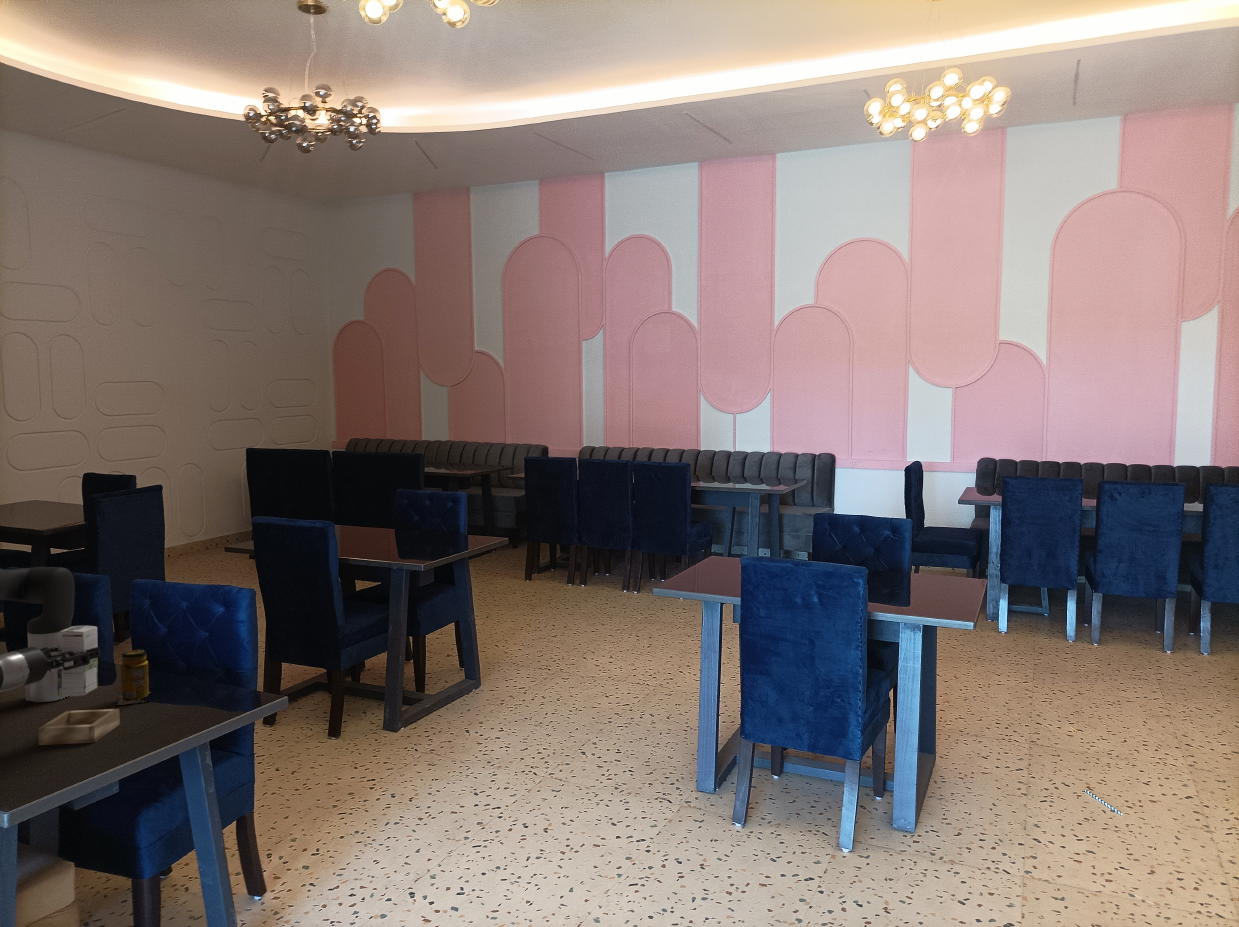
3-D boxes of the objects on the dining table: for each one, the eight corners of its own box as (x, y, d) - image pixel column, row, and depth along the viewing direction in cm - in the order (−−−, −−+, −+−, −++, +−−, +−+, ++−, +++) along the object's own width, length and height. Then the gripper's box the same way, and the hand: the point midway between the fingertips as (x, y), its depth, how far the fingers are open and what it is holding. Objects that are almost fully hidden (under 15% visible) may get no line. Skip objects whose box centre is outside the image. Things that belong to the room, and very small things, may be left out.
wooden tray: (38, 745, 183) (38, 728, 182) (67, 726, 194) (66, 711, 194) (94, 742, 184) (94, 726, 184) (119, 724, 195) (119, 708, 195)
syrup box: (71, 689, 191) (70, 625, 190) (99, 688, 191) (97, 625, 191) (57, 697, 185) (55, 631, 185) (85, 696, 186) (83, 630, 185)
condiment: (151, 693, 218) (150, 647, 218) (149, 702, 211) (148, 655, 210) (119, 697, 215) (117, 650, 214) (115, 707, 207) (114, 658, 207)
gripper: (-11, 684, 177) (63, 664, 192) (39, 691, 172) (111, 669, 188) (-12, 648, 177) (62, 631, 192) (38, 654, 172) (110, 636, 188)
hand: (86, 650), depth 190 cm, fingers closed on syrup box, 7 cm apart
